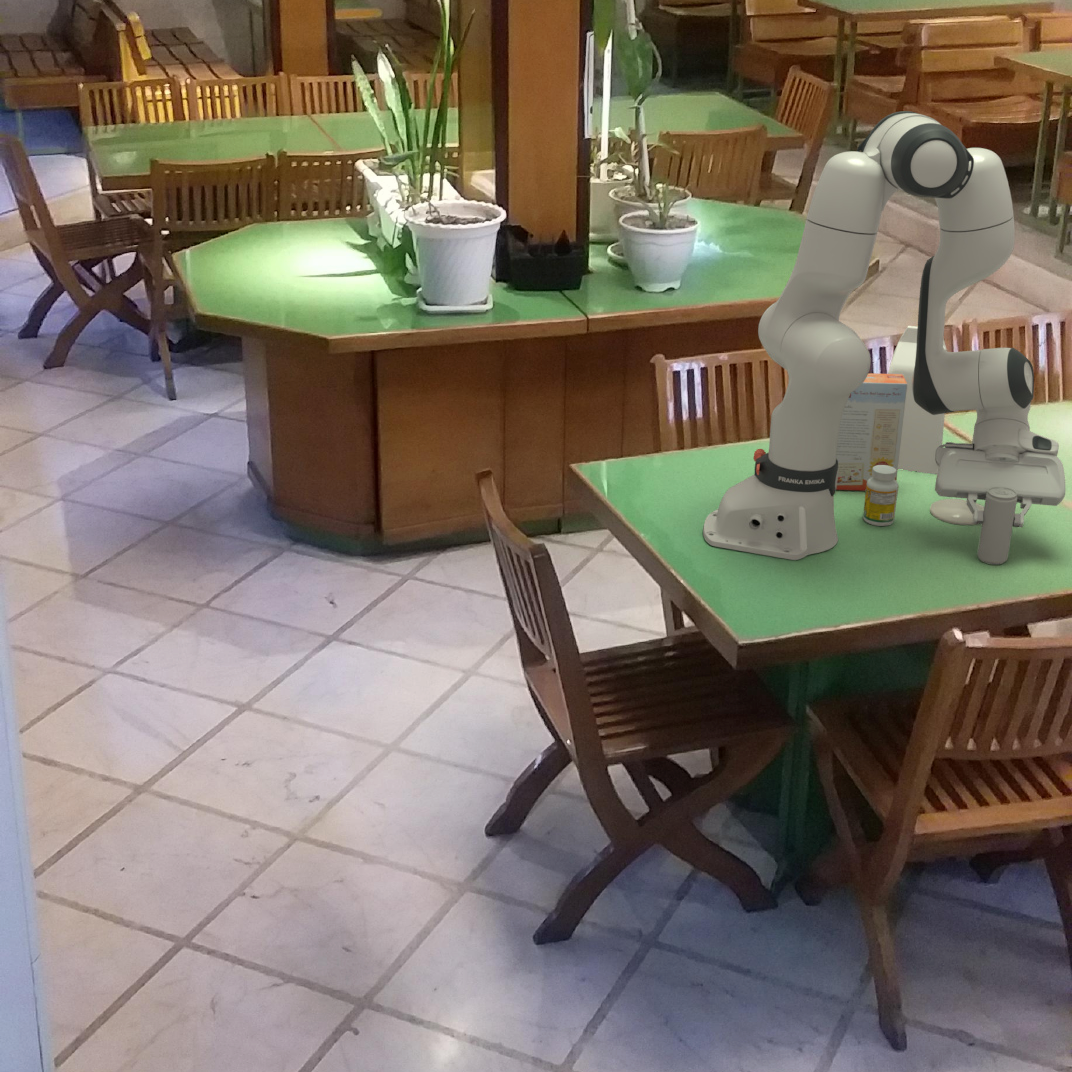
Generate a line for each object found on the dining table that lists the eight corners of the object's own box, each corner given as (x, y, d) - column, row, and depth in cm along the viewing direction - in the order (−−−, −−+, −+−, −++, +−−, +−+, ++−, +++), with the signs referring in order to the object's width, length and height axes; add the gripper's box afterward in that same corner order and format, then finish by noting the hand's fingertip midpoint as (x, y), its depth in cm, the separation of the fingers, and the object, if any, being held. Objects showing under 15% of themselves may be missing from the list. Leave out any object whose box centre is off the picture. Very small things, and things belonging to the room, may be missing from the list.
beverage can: (1008, 567, 236) (1019, 499, 231) (977, 564, 237) (987, 496, 232) (1005, 554, 240) (1016, 487, 235) (975, 551, 241) (985, 485, 236)
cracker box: (891, 480, 269) (904, 372, 260) (895, 493, 263) (909, 383, 254) (814, 477, 270) (825, 369, 261) (817, 490, 264) (827, 380, 255)
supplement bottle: (888, 529, 249) (894, 477, 245) (858, 522, 252) (863, 471, 247) (898, 518, 253) (904, 467, 249) (868, 511, 256) (874, 460, 252)
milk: (872, 466, 275) (888, 333, 264) (878, 445, 285) (893, 316, 274) (938, 474, 272) (956, 340, 261) (941, 452, 282) (959, 322, 271)
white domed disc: (931, 522, 252) (931, 519, 251) (928, 499, 261) (929, 496, 260) (991, 527, 250) (991, 524, 250) (986, 504, 259) (986, 501, 259)
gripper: (938, 433, 239) (934, 511, 234) (1068, 443, 235) (1067, 522, 231) (933, 449, 245) (929, 525, 240) (1060, 458, 241) (1058, 536, 236)
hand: (997, 524), depth 235 cm, fingers closed on beverage can, 5 cm apart
